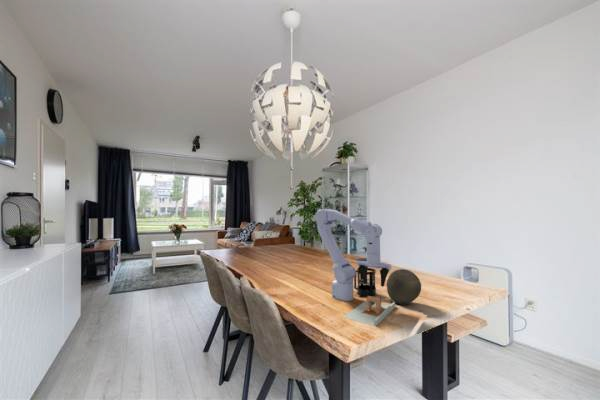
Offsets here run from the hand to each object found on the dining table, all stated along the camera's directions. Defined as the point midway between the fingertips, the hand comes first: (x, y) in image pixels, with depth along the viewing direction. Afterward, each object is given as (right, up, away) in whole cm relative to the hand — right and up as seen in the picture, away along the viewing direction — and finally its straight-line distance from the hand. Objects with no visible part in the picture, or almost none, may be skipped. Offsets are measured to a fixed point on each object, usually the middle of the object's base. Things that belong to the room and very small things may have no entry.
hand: (373, 284), depth 115 cm
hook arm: (-2, -10, -7) cm, 12 cm away
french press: (+1, -11, +18) cm, 21 cm away
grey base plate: (-4, -10, -8) cm, 13 cm away
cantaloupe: (+14, -10, +4) cm, 18 cm away
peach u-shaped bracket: (-2, -8, -7) cm, 11 cm away
